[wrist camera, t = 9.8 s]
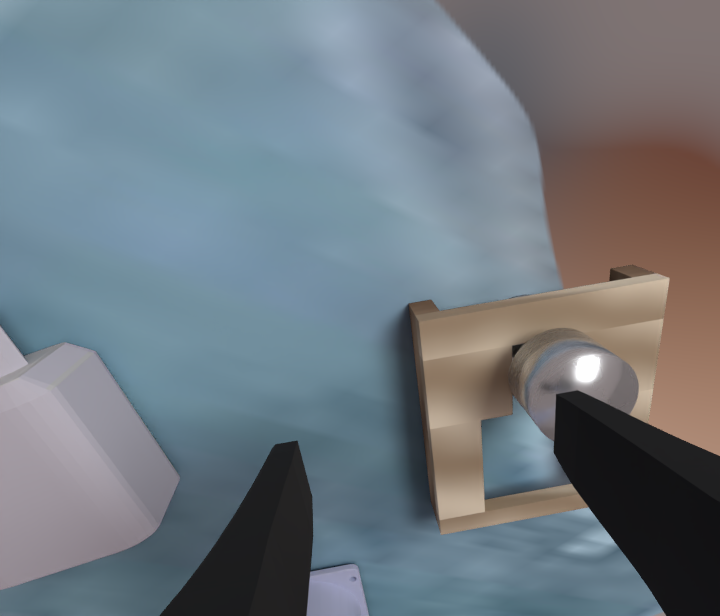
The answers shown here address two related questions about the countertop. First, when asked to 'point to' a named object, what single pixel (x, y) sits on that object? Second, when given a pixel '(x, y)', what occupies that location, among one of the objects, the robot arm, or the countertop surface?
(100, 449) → the charger
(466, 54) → the countertop surface
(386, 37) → the countertop surface
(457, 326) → the keyhole plate
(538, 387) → the peg
